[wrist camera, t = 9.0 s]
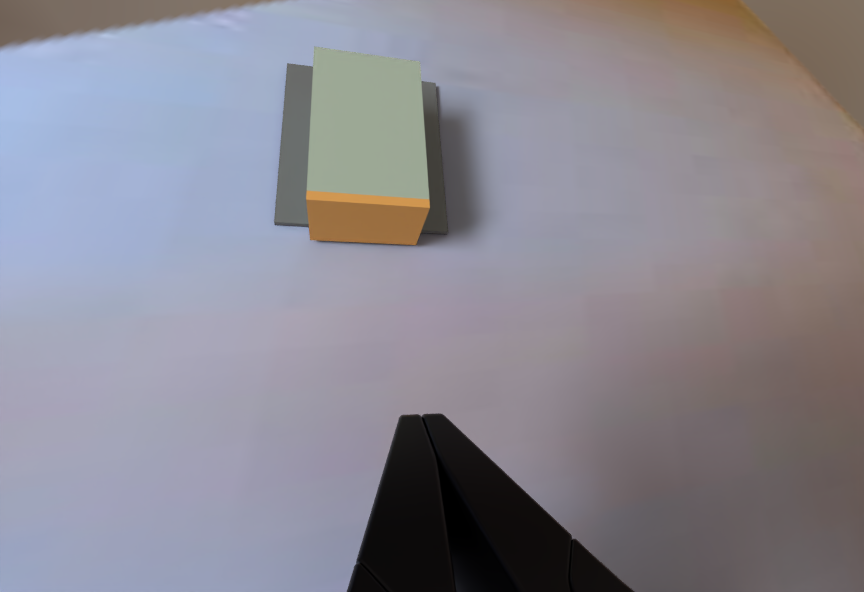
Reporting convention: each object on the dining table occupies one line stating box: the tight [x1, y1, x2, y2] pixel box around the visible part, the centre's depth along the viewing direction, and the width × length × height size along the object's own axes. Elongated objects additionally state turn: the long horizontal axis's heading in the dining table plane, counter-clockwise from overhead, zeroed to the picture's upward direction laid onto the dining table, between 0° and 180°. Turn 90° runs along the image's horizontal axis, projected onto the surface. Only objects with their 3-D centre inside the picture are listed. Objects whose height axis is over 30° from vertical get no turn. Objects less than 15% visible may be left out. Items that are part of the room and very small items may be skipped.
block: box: [306, 47, 430, 245], centre depth 24 cm, size 4×6×10 cm
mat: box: [274, 63, 448, 234], centre depth 27 cm, size 12×10×1 cm
